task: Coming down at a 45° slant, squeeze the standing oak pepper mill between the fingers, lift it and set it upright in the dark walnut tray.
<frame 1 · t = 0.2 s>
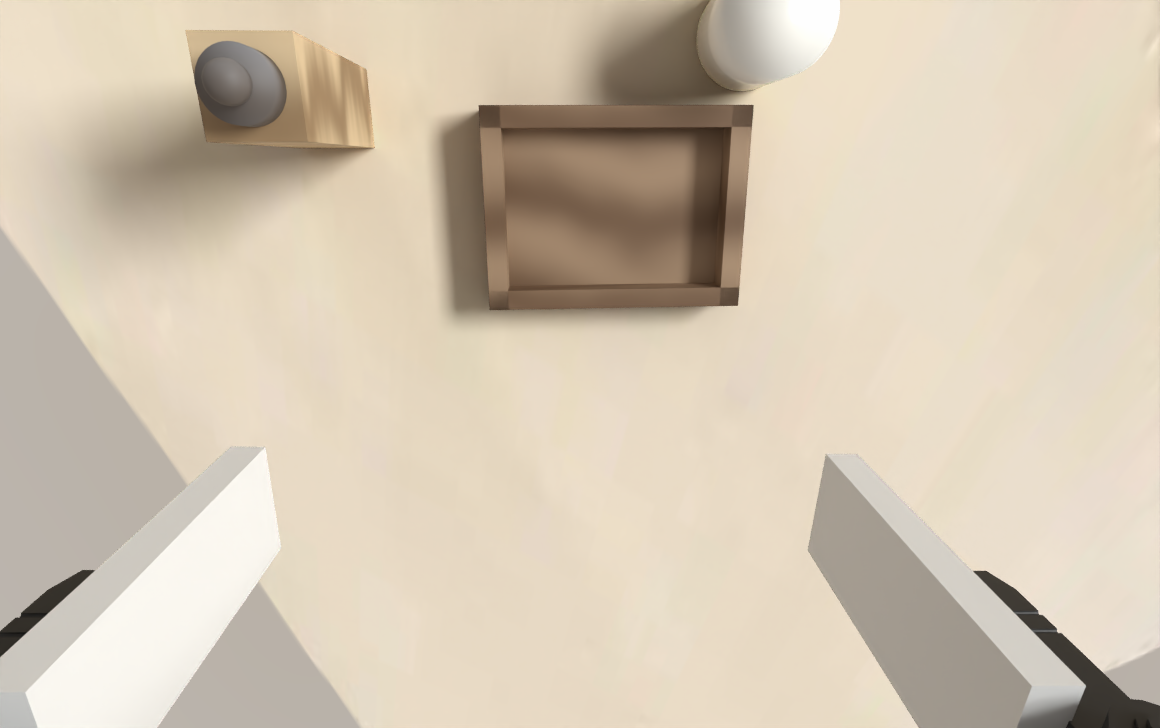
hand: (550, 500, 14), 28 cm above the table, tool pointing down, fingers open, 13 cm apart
pepper mill: (333, 109, 37), on the table
tray: (612, 208, 39), on the table
white pillar candle: (745, 37, 37), on the table
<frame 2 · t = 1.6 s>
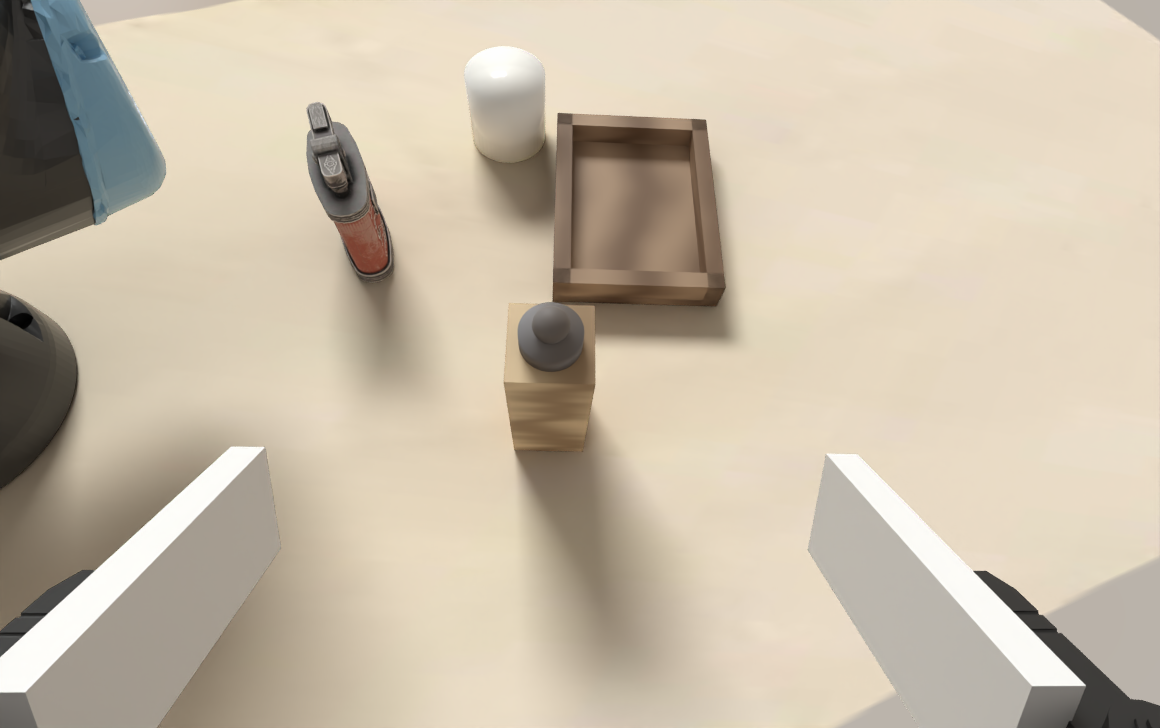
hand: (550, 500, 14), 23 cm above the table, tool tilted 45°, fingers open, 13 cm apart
pepper mill: (549, 418, 40), on the table
lighter: (368, 240, 45), on the table
tray: (631, 216, 47), on the table
white pillar candle: (509, 135, 50), on the table
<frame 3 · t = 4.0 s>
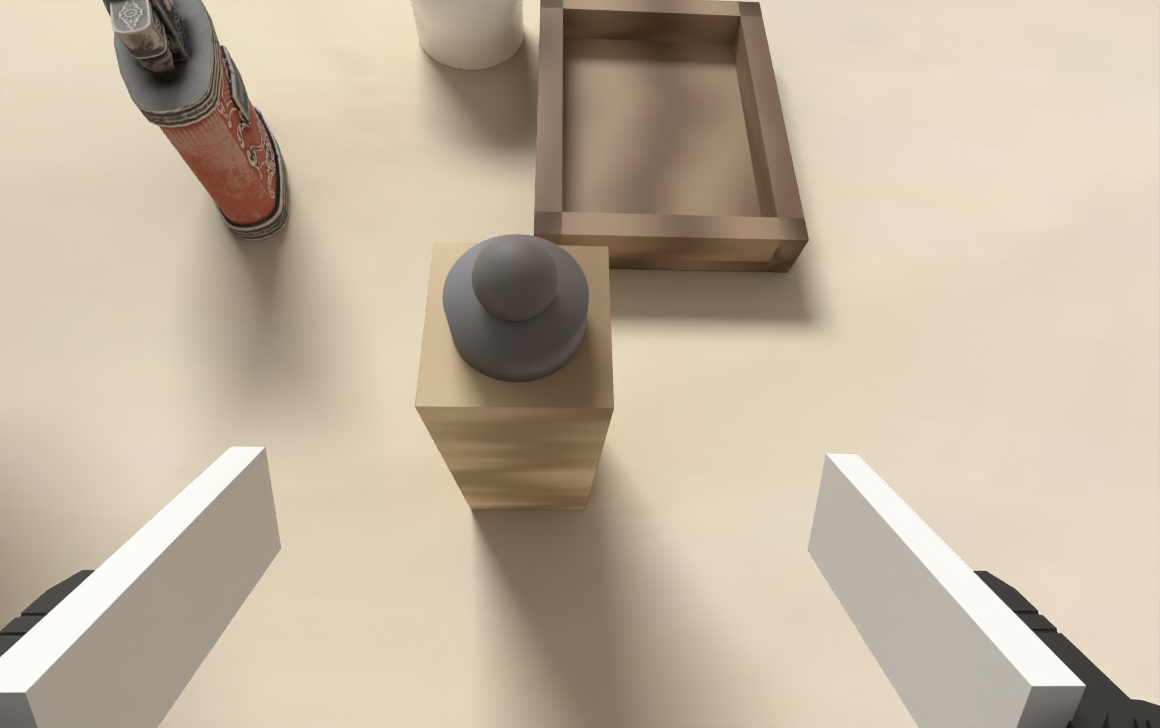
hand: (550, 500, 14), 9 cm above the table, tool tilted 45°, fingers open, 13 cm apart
pepper mill: (529, 454, 24), on the table
lighter: (252, 178, 30), on the table
tray: (652, 142, 32), on the table
white pillar candle: (471, 33, 35), on the table
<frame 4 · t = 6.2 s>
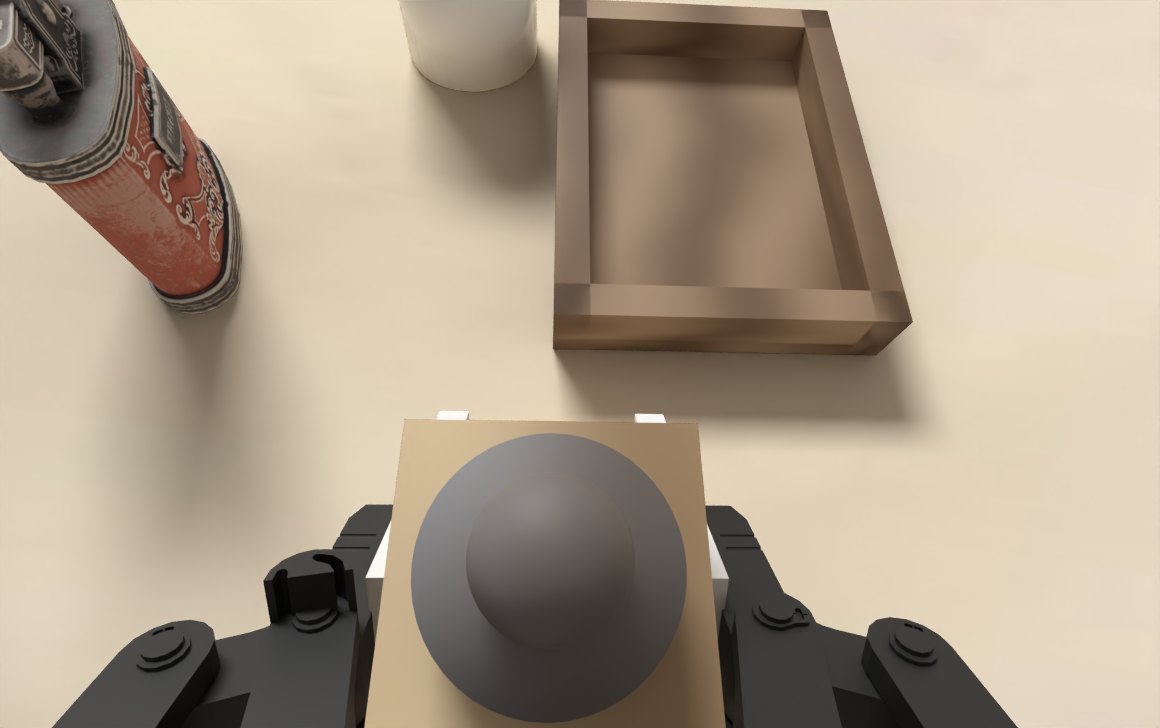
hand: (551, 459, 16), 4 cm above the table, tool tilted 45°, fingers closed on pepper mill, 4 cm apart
pepper mill: (548, 617, 18), on the table, touching gripper
lighter: (196, 230, 24), on the table
tray: (697, 183, 26), on the table
white pillar candle: (474, 47, 29), on the table
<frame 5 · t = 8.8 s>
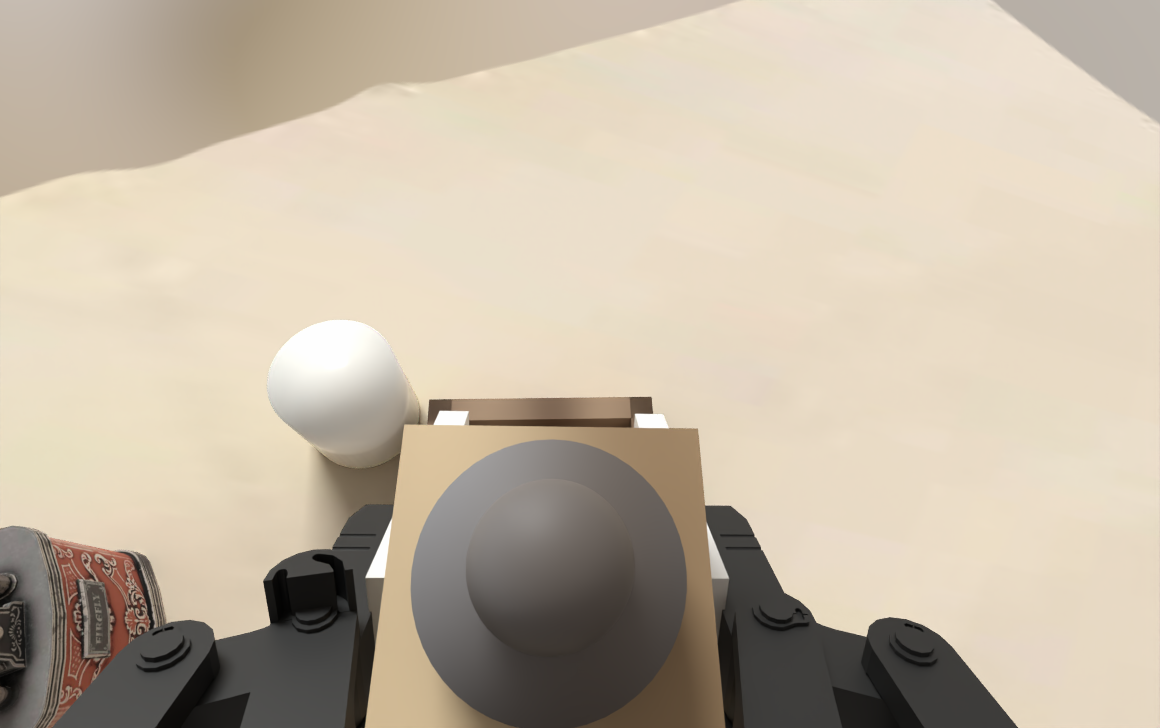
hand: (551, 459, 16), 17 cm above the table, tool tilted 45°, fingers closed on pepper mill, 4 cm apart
pepper mill: (548, 620, 18), point 13 cm above the table, touching gripper
lighter: (131, 634, 29), on the table
tray: (542, 558, 32), on the table
white pillar candle: (366, 417, 34), on the table
when the fingers open (6 cm above the table, at t = 11.4 s): pepper mill drops 2 cm, resting on tray.
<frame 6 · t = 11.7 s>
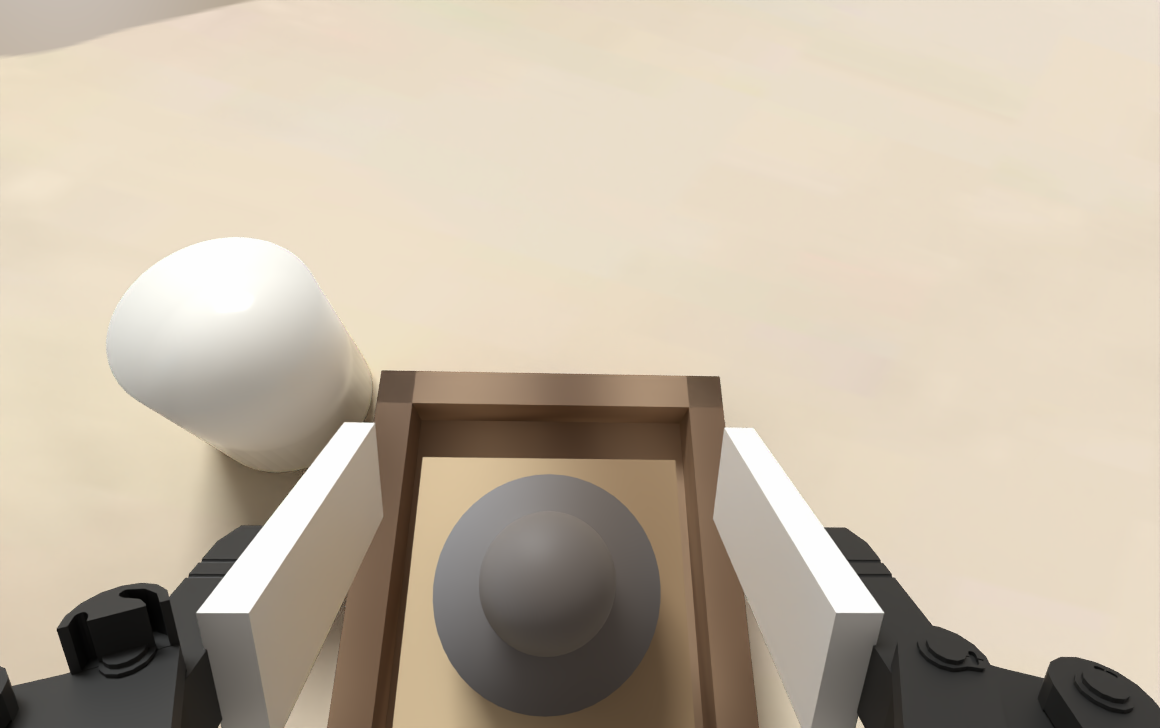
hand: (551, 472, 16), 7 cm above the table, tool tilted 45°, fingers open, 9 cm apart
pepper mill: (547, 622, 19), point 1 cm above the table, touching tray
tray: (548, 621, 20), on the table
white pillar candle: (293, 396, 23), on the table
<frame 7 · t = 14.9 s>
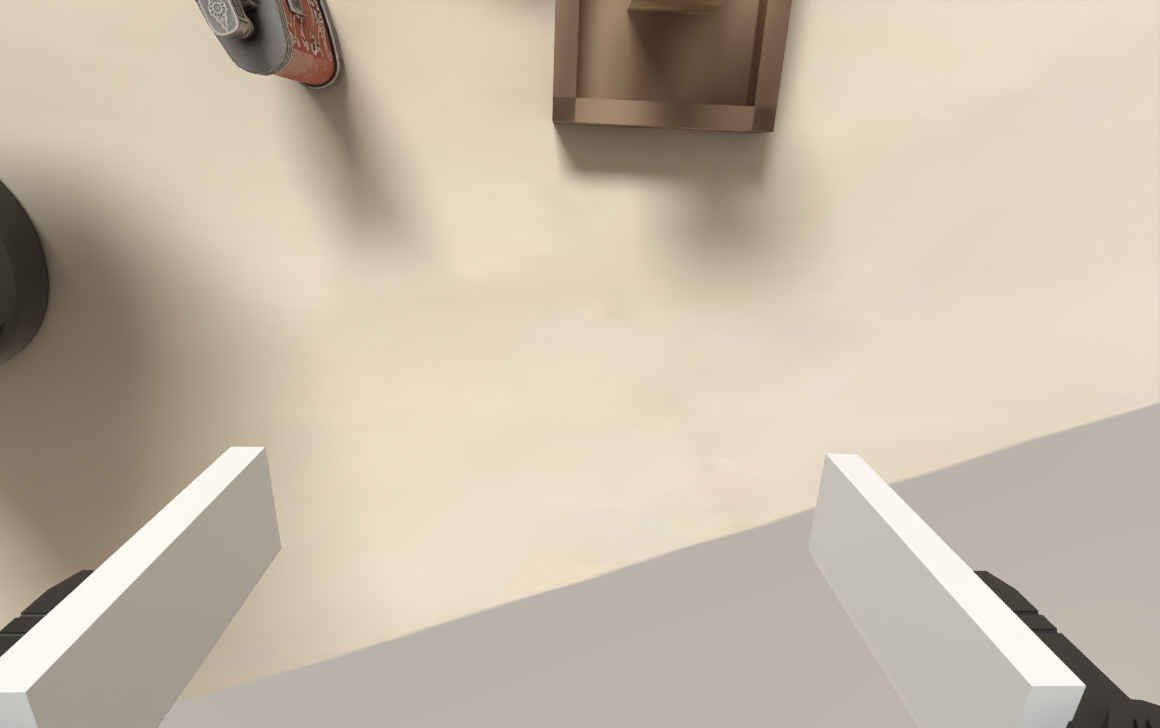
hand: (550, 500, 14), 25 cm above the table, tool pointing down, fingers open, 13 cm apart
lighter: (298, 12, 33), on the table
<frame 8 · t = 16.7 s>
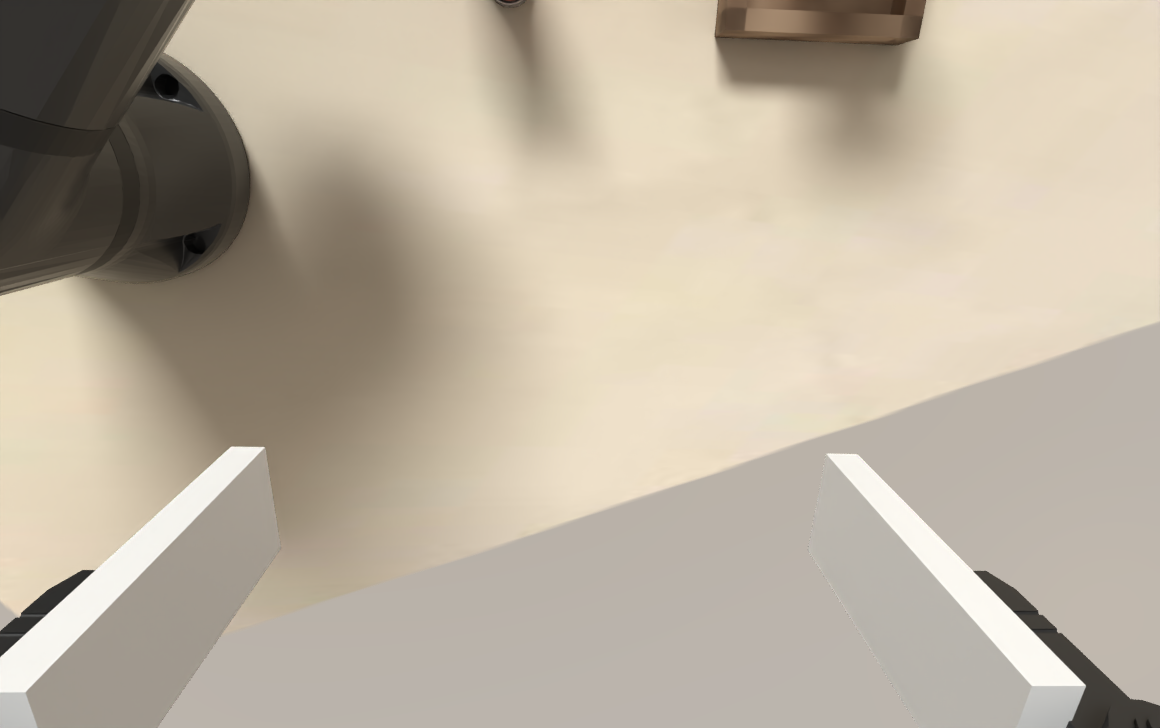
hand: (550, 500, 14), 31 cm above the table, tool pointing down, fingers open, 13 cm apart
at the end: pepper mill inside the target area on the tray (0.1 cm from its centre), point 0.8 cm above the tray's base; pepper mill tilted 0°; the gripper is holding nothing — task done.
